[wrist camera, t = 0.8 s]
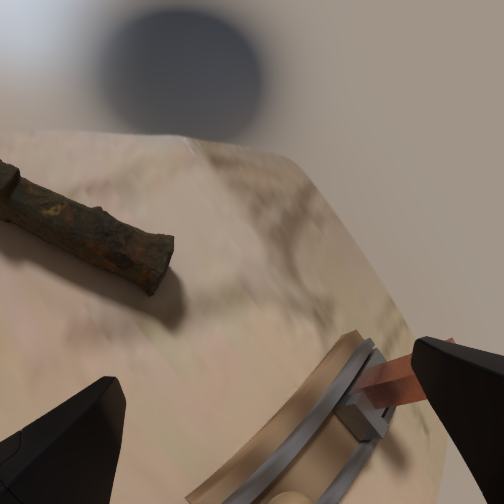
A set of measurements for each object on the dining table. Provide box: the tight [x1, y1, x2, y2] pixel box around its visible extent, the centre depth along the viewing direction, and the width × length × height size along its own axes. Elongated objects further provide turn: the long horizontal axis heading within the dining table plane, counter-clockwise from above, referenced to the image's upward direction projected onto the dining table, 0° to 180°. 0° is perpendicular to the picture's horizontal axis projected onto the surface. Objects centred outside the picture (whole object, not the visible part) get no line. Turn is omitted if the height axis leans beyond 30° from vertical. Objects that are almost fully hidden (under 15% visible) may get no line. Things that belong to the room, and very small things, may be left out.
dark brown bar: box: [0, 159, 174, 297], centre depth 17 cm, size 19×4×5 cm, turn 78°
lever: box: [332, 338, 456, 440], centre depth 18 cm, size 7×4×9 cm, turn 133°
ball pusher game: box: [185, 330, 397, 504], centre depth 18 cm, size 20×9×5 cm, turn 133°
